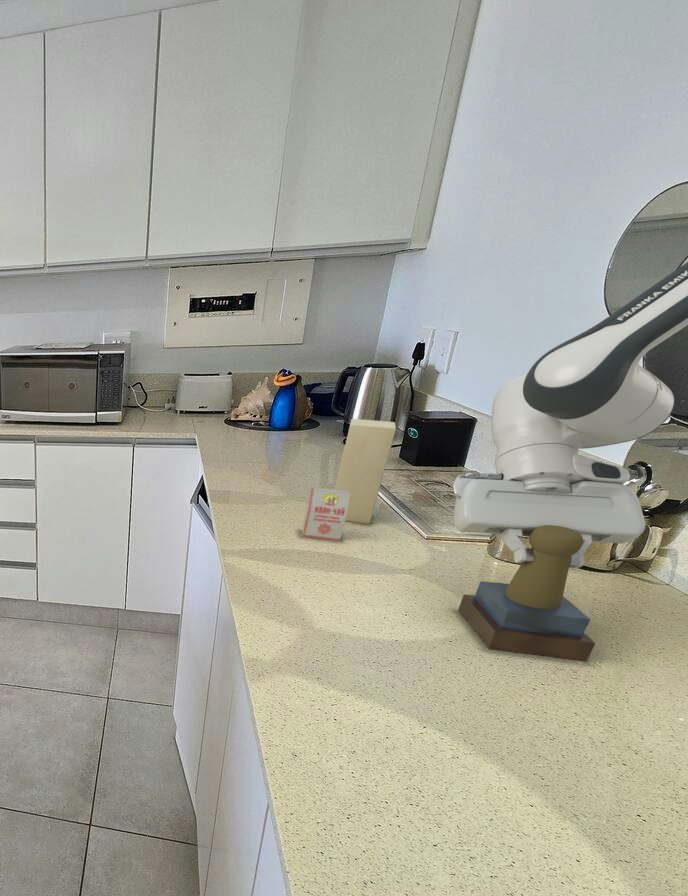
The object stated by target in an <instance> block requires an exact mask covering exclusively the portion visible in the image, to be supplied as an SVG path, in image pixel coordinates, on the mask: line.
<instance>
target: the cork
mask: <svg viewBox="0 0 688 896" xmlns="http://www.w3.org/2000/svg"><path fill="white" fill-rule="evenodd" d="M528 539H529V540H528V542H529V544H530V549H534V554H533V555H534V556H535V559H534V561H533V562H530V563H527V564H524V563H520V565H519V567H518V568H517V570H516V572H515V574H514V575H513V577H512V578H511V580H510V582H509V583H508V584H509V585H508V587H507V588H506V590H505V592H504V594H505V596H507V597H508V598H509V599H511V600H513V601H514V602H517V603H519V604H522V605H525V606H529V607H533V608H538V609H547V610H550V609H557V608H560V606H561V602H562V598H563V596H564V592H565V587H566V583H567V578H568V575H569V571H570V567H569V565H570V561H571V556H572V555H573V554H575V553H577V552H578V551H579V550H580V548H581V547H582V545H583V538H582V535H581V534H580V533H578V532H577V531H575V530H572V529H569V528H566V527H561V526H554V525H544V526H540V527H537V528H536V529H535V530H534V531H533V532H532V533H531V535H530V537H529V538H528Z"/></svg>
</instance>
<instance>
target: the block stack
mask: <svg viewBox="0 0 688 896" xmlns="http://www.w3.org/2000/svg"><path fill="white" fill-rule="evenodd" d="M508 585H509V583H502V582H493V581H483V580H480V581H479V584H478V586H477V589H476V591H475V595H473V594H464V593H463V595H462V598H461V601H460V604H459V606H458V609H457V611H458V613H459V614H460V615H461V616H462V618H464V620H465V621H466V622H467V624H468V625H469V626H470V627H471V629H472V630H473V631H474V633H476V635H477V636H478V637H479V639H480V640H481V641H482V642H483V644H484V645H485V646H486V647H487V648H488V649H489V650H495V651H504V652H510V653H511V652H512V653H520V654H527V655H533V656H534V655H535V656H544V657H550V658H557V659H566V660H573V661H580V662H581V661H582V662H588V660H589V657H590V656H591V654H592V652H593V650H594V648H595V646H596V642H595V641H594V640H592V638H591V637H589V635H587V634H586V633H585V632H586V630H587V628H588V626H589V624H590V621H591V618H589V617H588V616H587V615H586V614H585V613H584V612H583V611H581V610H580V609H579V608H578V607H577V606H576V605H574V604H573V603H572V602H571V601H570V600H568V598H566V597H565V596H564V595H563V598H562V602H561V606H560V608H557V609H550V610H547V609H538V608H533V607H529V606H525V605H522V604H519V603H517V602H514V601H513V600H511V599H509V598H508V597H507V596H505V594H504V592H505V590H506V588H507V587H508Z"/></svg>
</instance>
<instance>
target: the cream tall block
mask: <svg viewBox="0 0 688 896" xmlns="http://www.w3.org/2000/svg"><path fill="white" fill-rule="evenodd" d="M396 431H397V426H396V422H394V421H385V420H375V419H374V420H372V419H359V418H351V420H350V423H349V427H348V432H347V436H346V441H345V444H344V448H343V453H342V457H341V462H340V465H339V469H338V474H337V478H336V480H335V486H334V489H333V490H340V491H350V492H351V493H350V498H349V503H348V509H347V515H346V519H345V522H353V523H357V524H358V523H360V524H364V525H365V524H366V525H370V524H371V520H372V517H373V514H374V511H375V508H376V507H375V506H376V503H377V499H378V496H379V492H380V489H381V485H382V482H383V478H384V474H385V470H386V467H387V463H388V460H389V456H390V453H391V449H392V445H393V442H394V438H395V434H396Z"/></svg>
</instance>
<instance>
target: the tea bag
mask: <svg viewBox="0 0 688 896" xmlns="http://www.w3.org/2000/svg"><path fill="white" fill-rule="evenodd" d="M350 493H351V492H350V491H340V490H334V489H329V488H328V489H327V488H320V487H319V488H318V487H317V488H316V487H311V488H310V493H309V497H308V500H307V503H306V509H305V513H304V517H303V523H302V527H301V534H302V537H305V538H306V537H307V538H313V539H321V540H322V539H323V540H330V541H338V542H341V540H342V535H343V531H344V526H345V524H346V523H345V522H346V521H345V519H346V515H347V509H348V503H349V498H350Z"/></svg>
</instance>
